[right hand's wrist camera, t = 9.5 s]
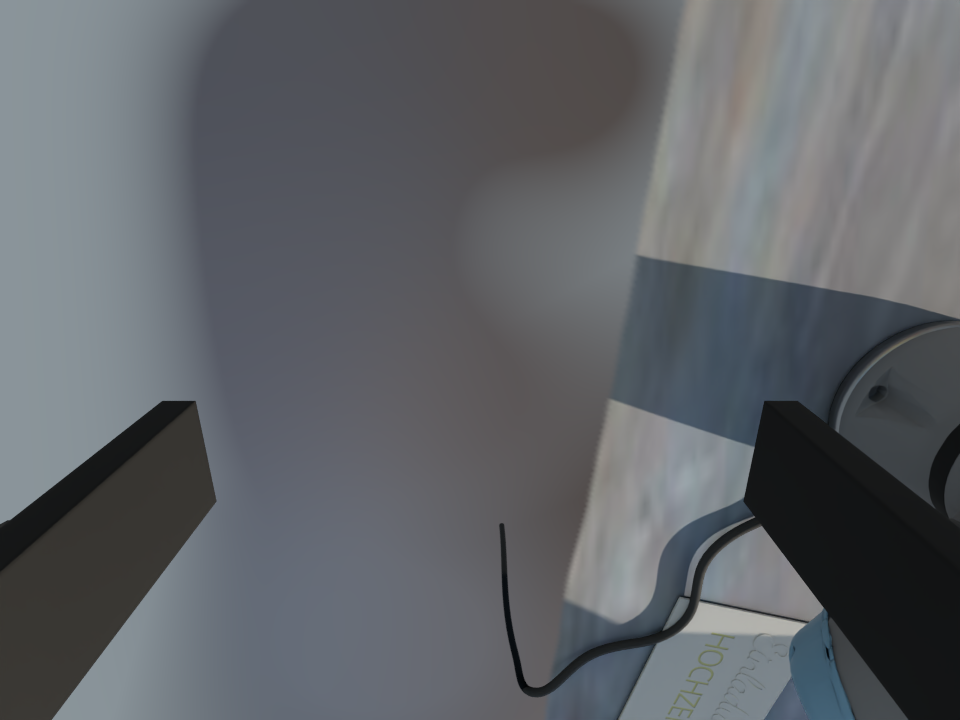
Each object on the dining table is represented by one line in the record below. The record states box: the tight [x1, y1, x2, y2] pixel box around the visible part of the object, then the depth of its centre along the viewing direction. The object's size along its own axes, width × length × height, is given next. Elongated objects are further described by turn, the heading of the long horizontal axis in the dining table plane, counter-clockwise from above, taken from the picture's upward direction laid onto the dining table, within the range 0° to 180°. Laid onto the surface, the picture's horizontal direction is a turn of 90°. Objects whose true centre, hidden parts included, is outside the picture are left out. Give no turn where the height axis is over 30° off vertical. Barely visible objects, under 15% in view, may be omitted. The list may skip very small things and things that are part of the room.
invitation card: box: [618, 597, 808, 720], centre depth 56 cm, size 21×1×15 cm
